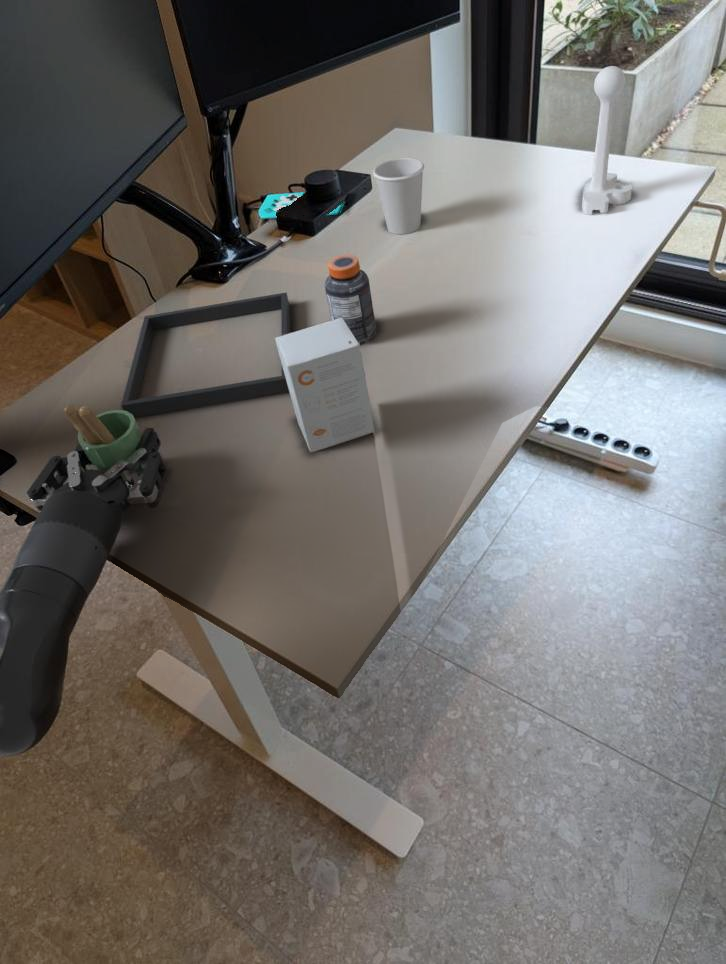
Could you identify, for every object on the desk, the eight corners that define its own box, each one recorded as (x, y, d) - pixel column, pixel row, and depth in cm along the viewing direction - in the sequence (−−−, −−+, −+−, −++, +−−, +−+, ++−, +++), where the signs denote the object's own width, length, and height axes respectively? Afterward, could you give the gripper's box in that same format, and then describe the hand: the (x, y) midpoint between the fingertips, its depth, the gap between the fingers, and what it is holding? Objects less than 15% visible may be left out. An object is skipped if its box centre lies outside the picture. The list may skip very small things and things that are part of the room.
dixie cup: (395, 243, 114) (389, 182, 107) (371, 226, 119) (363, 168, 112) (437, 226, 116) (434, 166, 109) (411, 211, 121) (406, 153, 114)
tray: (292, 396, 88) (287, 378, 86) (129, 423, 88) (120, 405, 86) (290, 309, 103) (286, 292, 101) (151, 333, 104) (144, 316, 102)
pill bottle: (357, 318, 99) (345, 245, 91) (385, 332, 95) (375, 257, 87) (326, 337, 96) (311, 264, 88) (354, 352, 93) (341, 277, 85)
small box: (359, 406, 85) (343, 315, 75) (376, 436, 80) (361, 344, 71) (297, 426, 84) (273, 336, 74) (311, 458, 79) (287, 366, 70)
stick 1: (121, 488, 79) (60, 412, 67) (122, 480, 80) (62, 403, 68) (131, 487, 79) (72, 410, 67) (131, 478, 80) (73, 401, 68)
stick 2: (138, 486, 79) (75, 414, 67) (138, 477, 80) (77, 404, 68) (147, 484, 79) (87, 412, 67) (148, 475, 80) (88, 402, 68)
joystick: (588, 185, 119) (601, 55, 105) (634, 186, 116) (653, 53, 102) (577, 214, 112) (589, 79, 98) (625, 216, 110) (645, 77, 95)
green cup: (106, 509, 78) (72, 451, 71) (115, 471, 82) (84, 414, 76) (159, 501, 77) (129, 442, 71) (165, 463, 82) (138, 405, 75)
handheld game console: (269, 199, 133) (267, 192, 132) (348, 194, 130) (347, 187, 129) (255, 223, 127) (253, 216, 126) (339, 218, 123) (337, 211, 122)
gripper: (121, 522, 62) (172, 405, 73) (-21, 526, 64) (50, 411, 76) (150, 572, 67) (194, 455, 79) (18, 574, 69) (79, 460, 81)
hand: (123, 434), depth 77 cm, fingers closed on green cup, 6 cm apart
